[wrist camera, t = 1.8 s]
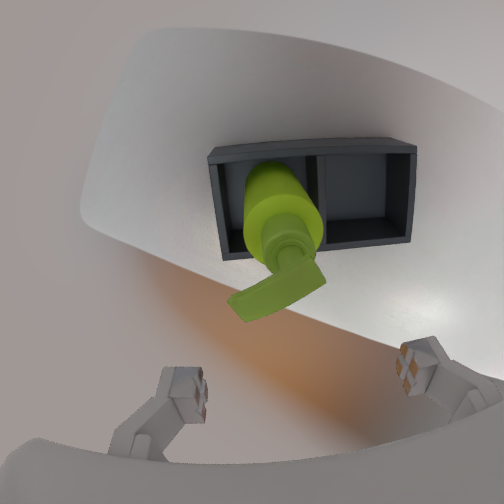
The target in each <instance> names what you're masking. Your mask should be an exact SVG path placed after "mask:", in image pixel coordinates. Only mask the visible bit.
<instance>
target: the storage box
mask: <svg viewBox="0 0 504 504" xmlns="http://www.w3.org/2000/svg"><path fill="white" fill-rule="evenodd" d="M416 153H417V146H415V145H412V144H409V143H406V142H403V141H400V140H396V139H393V138H374V137H365V138H321V139H301V140H286V141H272V142H261V143H250V144H241V145H232V146H223V147H215V148H214V149H213V151H212V152H211V153H210V154H209V156H208V157H207V159H208V165H209V173H210V180H211V187H212V194H213V201H214V208H215V214H216V221H217V227H218V234H219V240H220V246H221V253H222V259H223V261H227V260H237V259H248V258H254V257H253V256H252V255H251V253H250V252H249V250H248V249H247V247H246V244H245V241H244V235H243V228H244V197H245V181H246V178H247V176H248V174H249V173H250V171H251V170H252V169H253V168H254V167H256V166H257V165H259V164H261V163H264V162H269V161H274V162H279V163H282V164H284V165H286V166H287V167H289V168H290V169H291V170H292V172H293V173H294V175H295V176H296V178H297V179H298V181H299V182H300V184H301V185H302V187H303V188H304V190H305V191H306V193H307V195H308V196H309V198H310V199H311V201H312V202H313V204H314V206H315V207H316V209H317V210H318V212H319V214H320V216H321V219H322V222H323V237H322V241H321V243H320V245H319V247H318V249H317V250H316V252H320V251H330V250H340V249H350V248H360V247H370V246H380V245H390V244H400V243H410V241H411V233H412V224H413V214H414V202H415V188H416V168H417V154H416Z"/></svg>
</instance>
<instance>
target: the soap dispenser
mask: <svg viewBox="0 0 504 504" xmlns="http://www.w3.org/2000/svg"><path fill="white" fill-rule="evenodd" d="M243 235H244V241H245V244H246V247H247V249H248V250H249V252H250V253H251V255H252V256H253V257H254V258H255V259H257V260H258V261H259V262H261V263H263V264H265V265H266V267H267V268H268V269H269V271H271V272H272V273H273V275H271V276H270V277H268V278H266V279H264V280H263V281H261V282H259V283H257V284H255V285H253V286H251V287H249V288H247V289H245V290H243V291H240V292H238V293H235V294H233V295H232V296H231V297H230V298H229V300H228V301H227V302H228V304H229V305H230V306H231V307H232V308H233V310H234V311H235V312H236V313H237V314H238V315H239V316H240V318H241V319H242V320H243V321H244V322H249V321H252V320H256V319H259V318H262V317H264V316H267V315H270V314H272V313H274V312H277V311H279V310H281V309H283V308H285V307H287V306H289V305H291V304H292V303H294V302H296V301H298V300H299V299H301V298H303V297H305V296H306V295H308V294H310V293H311V292H313V291H314V290H316V289H318V288H319V287H321V286H322V285H324V284H326V280H325V277H324V276H323V274H322V272H321V271H320V269H319V267H318V266H317V264H316V263H315V261H314V260H315V256H316V250H317V249H318V247H319V245H320V243H321V241H322V237H323V222H322V219H321V216H320V214H319V212H318V210H317V209H316V207H315V206H314V204H313V202H312V201H311V199H310V198H309V196H308V195H307V193H306V191H305V190H304V188H303V187H302V185H301V184H300V182H299V181H298V179H297V178H296V176H295V175H294V173H293V172H292V170H291V169H290V168H289V167H287V166H286V165H284V164H282V163H279V162H274V161H269V162H264V163H261V164H259V165H257V166H256V167H254V168H253V169H252V170H251V171H250V173H249V174H248V176H247V178H246V181H245V197H244V228H243Z"/></svg>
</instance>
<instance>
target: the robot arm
mask: <svg viewBox="0 0 504 504" xmlns="http://www.w3.org/2000/svg"><path fill="white" fill-rule="evenodd" d="M400 351H401V354H400V355H399V357H398V358H397V362H396V369H397V373H398V376H399V378H400V379H402V380H404V384H403V387H404V389H405V391H406V393H407V395H408V397H411V396H415V395H419V394H423V393H425V394H426V395H427V396H429V397H430V398H431V399H432V400H434V401H435V402H436V403H438V404H439V405H440V406H441V407H443V408H444V409H445V410H446V411H448V412H449V413H450V414H451V415H453V417H452V418H451V420H450V421H449V423H448V424H447V425H445V426H442V427H439V428H436V429H433V430H430V431H427V432H424V433H421V434H418V435H415V436H412V437H408V438H405V439H401V440H398V441H394V442H391V443H386V444H383V445H378V446H375V447H370V448H365V449H361V450H356V451H351V452H346V453H341V454H335V455H329V456H323V457H316V458H309V459H301V460H293V461H282V462H272V463H254V464H188V463H187V464H186V463H172V462H169V461H168V460H167V459H166V457H165V456H164V455H163V453H162V452H163V451H164V449H165V448H166V447H167V446H168V445H169V443H170V442H171V441H172V440H173V439H174V437H175V436H176V435H177V434H178V432H179V431H180V430H181V429H182V427H183V426H184V424H187V423H188V424H194V423H195V424H197V423H205V418H206V408H205V405H204V404H205V403H206V402H207V399H208V389H207V384H206V380H205V379H203V371H202V368H201V367H164V368H163V370H162V373H161V377H160V381H159V384H158V388H157V392H156V396H155V397H151V398H150V399H149V400H148V401H147V402H146V403H145V404H144V405H143V406H141V407H140V408H139V409H138V410H137V411H136V412H135V413H134V414H132V415H131V416H130V417H129V418H128V419H127V420H126V421H124V422H123V423H122V424H121V425H120V426H119V427H118V428H116V429H115V431H114V434H113V437H112V440H111V444H110V447H109V450H108V454H103V453H98V452H93V451H88V450H83V449H79V448H74V447H70V446H66V445H63V444H58V443H55V442H51V441H48V440H45V439H41V438H34V439H32V440H29V441H28V442H26V443H25V444H23V445H21V446H20V447H18V448H17V449H15V450H14V451H12V452H11V453H10V454H9V455H8V456H7V458H6V459H5V461H4V463H3V464H2V466H1V468H0V504H504V399H503V397H502V396H501V394H500V392H499V391H498V389H497V387H496V386H495V384H494V383H493V381H492V380H490V379H488V378H486V377H484V376H483V375H481V374H479V373H477V372H475V371H473V370H471V369H469V368H468V367H466V366H464V365H462V364H460V363H458V362H456V361H455V360H450V359H449V357H448V355H447V354H446V352H445V351H444V349H443V348H442V346H441V345H440V343H439V341H438V340H437V338H436V337H435V336H430V337H426V338H421V339H417V340H413V341H408V342H404V343H402V345H401V347H400Z"/></svg>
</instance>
